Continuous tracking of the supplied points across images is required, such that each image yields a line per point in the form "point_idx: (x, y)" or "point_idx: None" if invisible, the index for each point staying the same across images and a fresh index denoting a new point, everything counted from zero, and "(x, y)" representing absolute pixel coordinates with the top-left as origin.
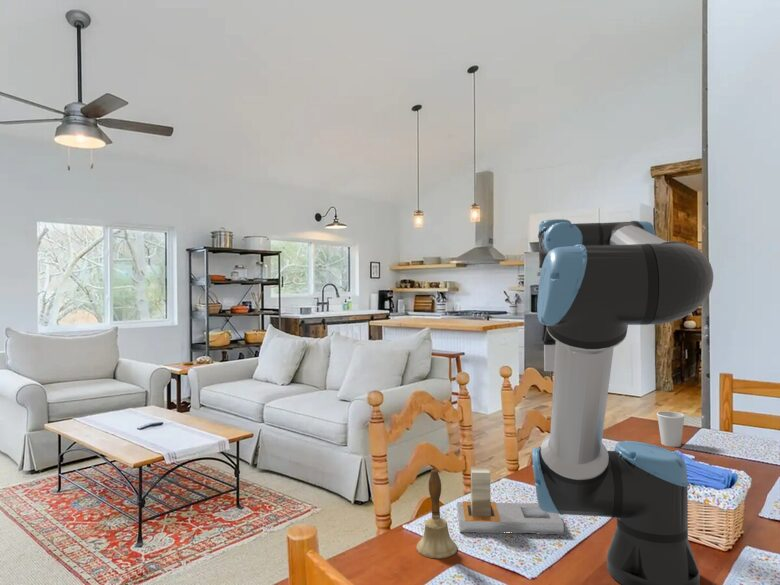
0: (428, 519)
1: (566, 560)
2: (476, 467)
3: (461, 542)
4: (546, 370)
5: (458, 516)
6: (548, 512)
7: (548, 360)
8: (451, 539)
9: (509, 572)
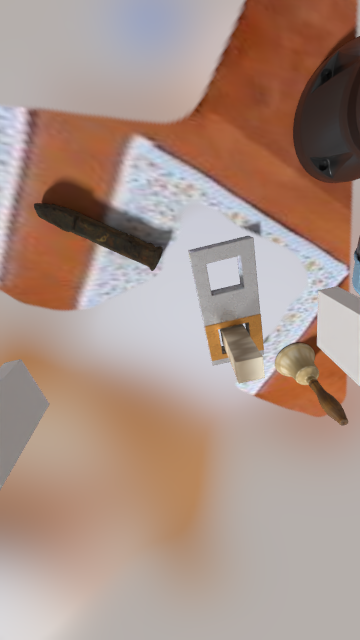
0: (304, 384)
1: (312, 233)
2: (242, 375)
3: (280, 342)
4: (43, 401)
5: None
6: (221, 258)
7: (7, 441)
8: (297, 353)
9: None
